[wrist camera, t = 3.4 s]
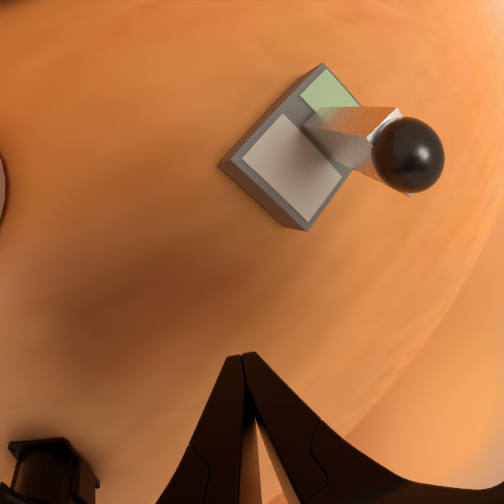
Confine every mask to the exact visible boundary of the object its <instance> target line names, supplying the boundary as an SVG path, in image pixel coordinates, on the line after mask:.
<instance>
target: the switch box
mask: <svg viewBox="0 0 504 504" xmlns="http://www.w3.org/2000/svg"><path fill="white" fill-rule="evenodd" d="M321 107H362V106H361V105H360V104H359V103H358V101H357V100H356V99H355V98H354V97H353V95H352V94H351V93H350V92H349V91H348V90H347V89H346V87H345V86H344V85H343V84H342V83H341V82H340V81H339V80H338V78H337V77H336V76H335V75H334V74H333V73H332V72H331V71H330V70H329V69H328V68H327V67H326V66H325V64H324V63H321V64H320V65H318V66H316V67H315V68H313V69H312V70H310V71H309V72H307V73H305V74H304V75H302V76H301V77H300V78H299V79H298V80H297V81H296V82H295V83H294V84H293V85H292V86H291V87H290V88H289V89H288V90H287V91H286V92H285V93H284V94H283V95H282V96H281V97H280V98H279V99H278V100H277V101H276V102H275V103H274V104H273V105H272V106H271V107H270V108H269V109H268V110H267V111H266V112H265V113H264V114H263V115H262V116H261V117H260V118H259V119H258V120H257V122H256V123H255V124H254V125H253V126H252V127H251V128H250V129H249V130H248V131H247V132H246V133H245V134H244V136H243V137H242V138H241V139H240V140H239V141H238V142H237V143H236V144H235V145H234V147H233V148H232V149H231V150H230V151H229V152H228V153H227V154H226V156H225V157H224V158H223V159H222V160H221V161H220V162H219V163H218V165H217V166H218V167H219V168H220V169H221V170H222V171H224V172H225V173H226V174H227V175H228V176H229V177H230V178H231V179H233V180H234V181H235V182H236V183H237V184H238V185H239V186H240V187H241V188H243V189H244V190H245V191H246V192H247V193H248V194H249V195H250V196H251V197H253V198H254V199H255V200H256V201H257V202H258V203H259V204H260V205H261V206H262V207H263V208H265V209H266V210H267V211H268V212H269V213H270V214H271V215H272V216H273V217H274V218H275V219H276V220H278V221H279V222H280V223H281V224H282V225H283V226H284V227H287V228H292V229H297V230H301V231H306V232H307V231H308V230H309V228H310V227H311V226H312V224H313V223H314V222H315V220H316V219H317V218H318V216H319V215H320V213H321V212H322V211H323V209H324V208H325V207H326V205H327V204H328V203H329V201H330V200H331V199H332V197H333V196H334V195H335V193H336V192H337V190H338V189H339V188H340V186H341V185H342V184H343V182H344V181H345V179H346V178H347V177H348V175H349V174H350V173H351V171H352V170H353V169H351V168H349V167H347V166H345V165H343V164H340V163H338V162H336V161H334V160H333V159H332V158H331V157H330V156H329V155H328V153H327V152H326V151H325V150H324V149H323V148H322V147H321V146H320V145H319V144H318V143H317V141H316V140H315V139H314V138H313V137H312V136H311V135H310V134H309V133H308V132H307V131H306V130H305V129H304V128H303V127H302V125H303V124H304V123H305V122H306V121H307V120H308V119H309V118H310V117H311V116H312V115H313V114H314V113H316V112H317V111H318V110H319V109H320V108H321Z"/></svg>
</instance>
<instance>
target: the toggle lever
mask: <svg viewBox="0 0 504 504" xmlns="http://www.w3.org/2000/svg"><path fill="white" fill-rule="evenodd" d="M302 127H303V128H304V129H305V130H306V131H307V132H308V133H309V134H310V135H311V136H312V137H313V138H314V139H315V140H316V141H317V143H318V144H319V145H320V146H321V147H322V148H323V149H324V150H325V151H326V152H327V153H328V155H329V156H330V157H331V158H332V159H333V160H334V161H336V162H338V163H340V164H343V165H345V166H347V167H349V168H351V169H354V170H356V171H358V172H360V173H362V174H364V175H366V176H368V177H370V178H372V179H374V180H376V181H379V182H381V183H383V184H385V185H387V186H388V187H390V188H392V189H394V190H396V191H398V192H400V193H402V194H404V195H406V196H408V197H411V196H412V195H413V194H414V193H418V192H422V191H424V190H427V189H428V188H430V187H431V186H432V185H434V184H435V183H436V181H437V180H438V179H439V177H440V175H441V173H442V171H443V167H444V160H445V155H444V149H443V145H442V143H441V140H440V138H439V136H438V135H437V134H436V132H435V131H434V130H433V129H432V128H431V127H430V126H429V125H428V124H426V123H425V122H423V121H421V120H419V119H416V118H412V117H403V115H402V114H401V113H400V111H399V110H398V108H392V107H321V108H320V109H319V110H318V111H317V112H316V113H314V114H313V115H312V116H311V117H310V118H309V119H308V120H307V121H306V122H305V123H304V124H303V125H302Z"/></svg>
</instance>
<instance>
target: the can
mask: <svg viewBox="0 0 504 504" xmlns="http://www.w3.org/2000/svg"><path fill="white" fill-rule="evenodd" d="M4 201H5V176H4V171H3V165H2V161H1V159H0V218H1V213H2V209H3V205H4Z"/></svg>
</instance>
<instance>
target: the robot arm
mask: <svg viewBox="0 0 504 504" xmlns="http://www.w3.org/2000/svg"><path fill="white" fill-rule="evenodd" d="M255 419H256V421H255ZM256 422H257V425H258V428H259V431H260V434H261V436H262V439H263V442H264V444H265V447H266V450H267V452H268V455H269V457H270V460H271V462H272V465H273V467H274V470H275V472H276V475H277V477H278V480H279V482H280V485H281V487H282V490H283V492H284V494H285V497H286V499H287V502H288V504H504V481H503V482H502V483H500V484H499V485H497V486H494V487H492V488H487V489H482V490H473V489H461V488H452V487H444V486H437V485H430V484H423V483H418V482H414V481H410V480H407V479H405V478H402V477H400V476H398V475H396V474H395V473H393V472H391V471H390V470H388V469H387V468H385V467H383V466H382V465H380V464H379V463H377V462H375V461H374V460H373V459H371V458H370V457H368V456H367V455H365V454H364V453H362V452H361V451H359V450H358V449H356V448H355V447H354V446H352V445H351V444H349V443H348V442H347V441H345V440H344V439H343V438H342V437H341V436H339V435H338V434H337V433H336V432H335V431H334V430H333V429H332V428H330V427H329V426H328V425H327V424H326V423H325V422H324V421H323V420H321V418H320V417H319V416H318V415H317V414H316V413H315V412H314V411H313V410H312V409H311V408H310V407H309V406H308V405H307V404H306V403H305V402H304V401H303V400H302V399H301V398H300V397H299V396H298V395H297V394H296V393H295V392H294V391H293V390H292V389H291V388H290V387H289V386H288V385H287V384H286V383H285V382H284V381H283V380H282V379H281V378H280V377H279V376H278V375H277V374H276V373H275V372H274V371H273V370H272V369H271V367H270V366H269V365H268V364H267V363H266V362H265V361H264V360H263V359H262V358H261V357H260V356H259V355H258V354H257V353H256V352H254V351H253V352H248V353H243V354H242V357H241V355H239V354H238V355H233V356H228V357H227V358H226V360H225V362H224V364H223V367H222V369H221V371H220V373H219V376H218V378H217V380H216V383H215V385H214V387H213V390H212V392H211V394H210V397H209V399H208V401H207V403H206V406H205V408H204V410H203V413H202V415H201V417H200V419H199V422H198V424H197V426H196V428H195V431H194V433H193V435H192V438H191V440H190V442H189V446H187V448H186V451H185V453H184V455H183V457H182V459H181V461H180V463H179V465H178V467H177V469H176V471H175V473H174V475H173V476H172V478H171V480H170V481H169V483H168V485H167V486H166V488H165V489H164V491H163V493H162V494H161V496H160V497H159V499H158V500H157V502H156V503H155V504H262V497H261V484H260V471H259V457H258V444H257V430H256ZM61 443H62V444H61ZM8 449H9V451H10V452H11V453H12V455H13V456H14V457H15V458H16V460H17V463H16V467H15V471H14V474H13V478H12V482H11V486H10V488H9V487H8V486H7V485H6V484H4V483H3V482H1V483H0V504H95V489H98V488H100V482H99V481H98V480H97V479H96V477H95V475H94V474H93V473H92V471H91V470H90V469H89V468H88V466H87V465H86V464H85V463H84V461H83V460H82V459H81V458H80V457H79V456H78V455H77V453H76V452H75V451H74V449H73V448H72V447H71V445H70V444H69V442H68V441H67V440H65V439H63V438H56V439H48V440H38V441H27V442H13V443H9V445H8Z"/></svg>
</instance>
